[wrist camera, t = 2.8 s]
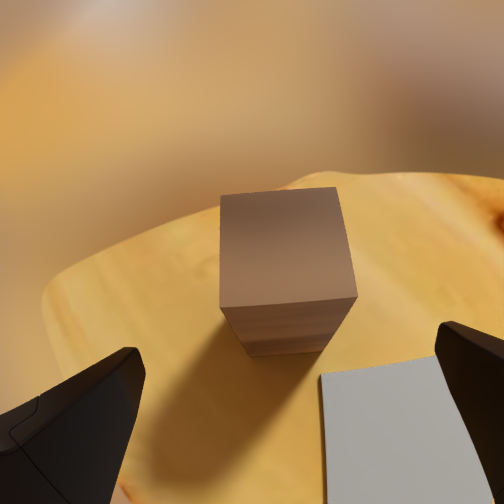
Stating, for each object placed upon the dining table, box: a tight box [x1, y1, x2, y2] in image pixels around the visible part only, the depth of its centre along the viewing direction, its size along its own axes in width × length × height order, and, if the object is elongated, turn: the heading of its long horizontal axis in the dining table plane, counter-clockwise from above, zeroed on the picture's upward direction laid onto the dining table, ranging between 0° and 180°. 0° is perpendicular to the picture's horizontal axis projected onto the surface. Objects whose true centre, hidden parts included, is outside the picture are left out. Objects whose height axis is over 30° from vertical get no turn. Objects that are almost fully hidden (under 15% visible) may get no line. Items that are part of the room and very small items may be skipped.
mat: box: [321, 355, 493, 504], centre depth 14 cm, size 16×12×1 cm
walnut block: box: [220, 187, 358, 357], centre depth 16 cm, size 4×4×10 cm
